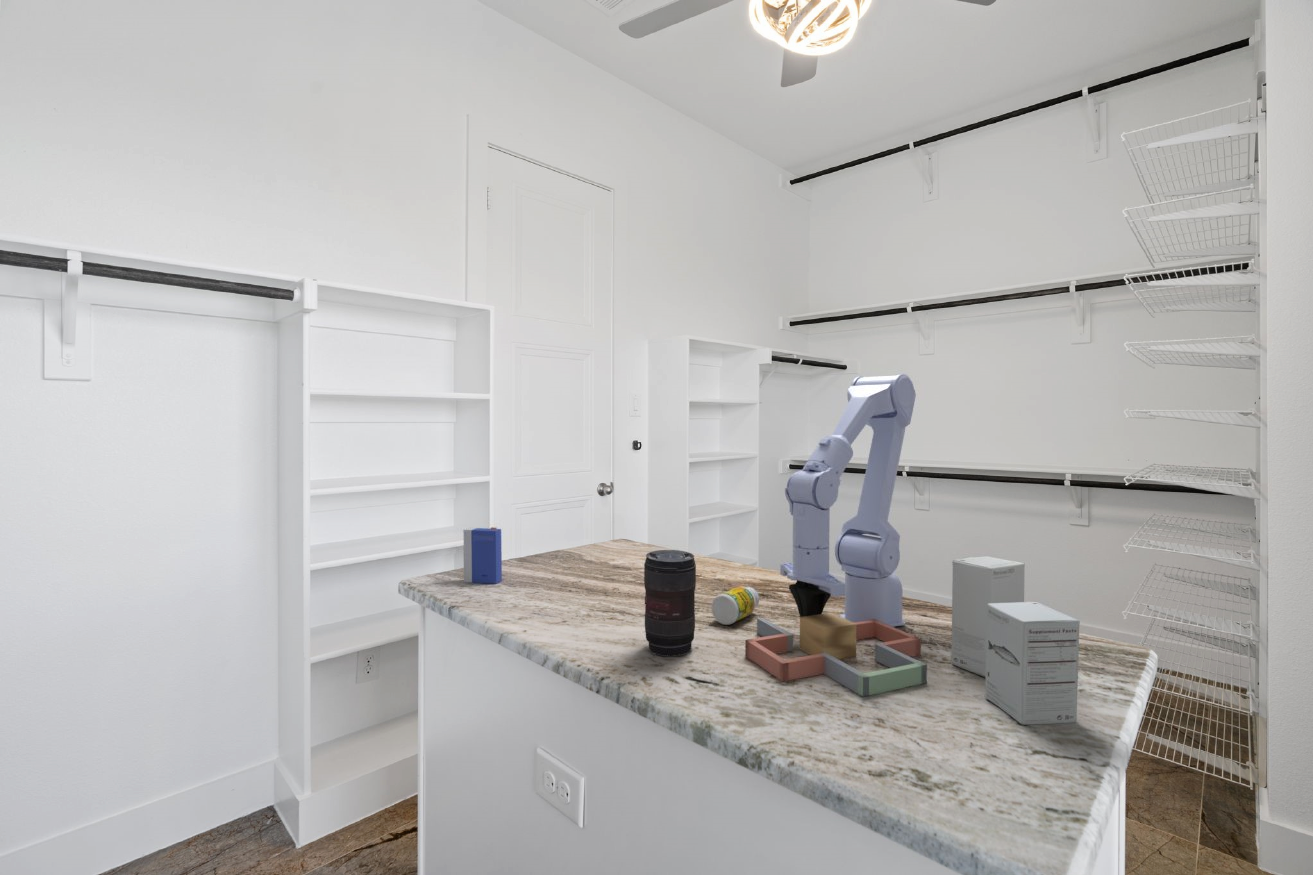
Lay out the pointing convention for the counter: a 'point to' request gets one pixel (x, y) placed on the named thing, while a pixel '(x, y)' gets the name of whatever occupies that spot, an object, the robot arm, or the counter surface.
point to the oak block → (828, 635)
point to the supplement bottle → (734, 604)
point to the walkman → (482, 555)
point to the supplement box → (1032, 662)
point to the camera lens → (669, 601)
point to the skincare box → (980, 604)
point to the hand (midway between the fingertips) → (810, 629)
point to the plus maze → (887, 653)
